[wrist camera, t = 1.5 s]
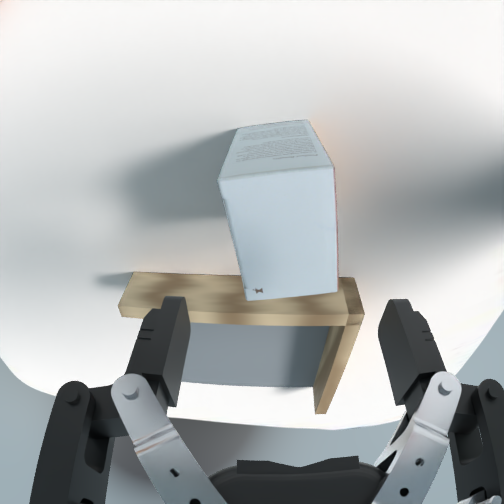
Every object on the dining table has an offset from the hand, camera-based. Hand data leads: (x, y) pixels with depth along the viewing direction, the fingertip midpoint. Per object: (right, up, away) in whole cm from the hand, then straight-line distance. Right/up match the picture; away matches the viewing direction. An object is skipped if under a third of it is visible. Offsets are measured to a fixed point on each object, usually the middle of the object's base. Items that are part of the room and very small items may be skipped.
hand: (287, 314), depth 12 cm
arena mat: (-3, -9, +26) cm, 27 cm away
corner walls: (-2, -8, +25) cm, 27 cm away
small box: (+1, +9, +13) cm, 16 cm away
